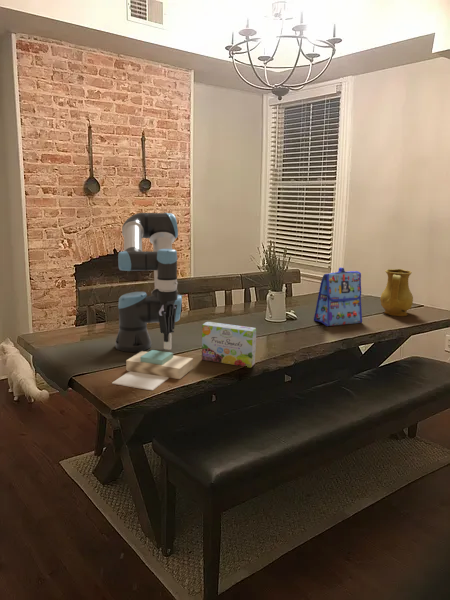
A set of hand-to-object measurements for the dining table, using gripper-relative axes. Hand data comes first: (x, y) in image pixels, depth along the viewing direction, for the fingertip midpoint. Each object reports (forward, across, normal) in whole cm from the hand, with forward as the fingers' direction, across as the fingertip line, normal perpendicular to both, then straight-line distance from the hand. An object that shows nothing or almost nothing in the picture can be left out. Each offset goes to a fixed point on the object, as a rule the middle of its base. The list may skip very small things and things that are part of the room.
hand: (167, 348), depth 198 cm
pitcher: (+5, +120, -82) cm, 145 cm away
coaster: (+2, -9, 0) cm, 9 cm away
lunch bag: (+6, +89, -54) cm, 105 cm away
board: (+6, -8, -1) cm, 10 cm away
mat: (+6, -21, 0) cm, 22 cm away
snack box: (+6, +10, -22) cm, 25 cm away
